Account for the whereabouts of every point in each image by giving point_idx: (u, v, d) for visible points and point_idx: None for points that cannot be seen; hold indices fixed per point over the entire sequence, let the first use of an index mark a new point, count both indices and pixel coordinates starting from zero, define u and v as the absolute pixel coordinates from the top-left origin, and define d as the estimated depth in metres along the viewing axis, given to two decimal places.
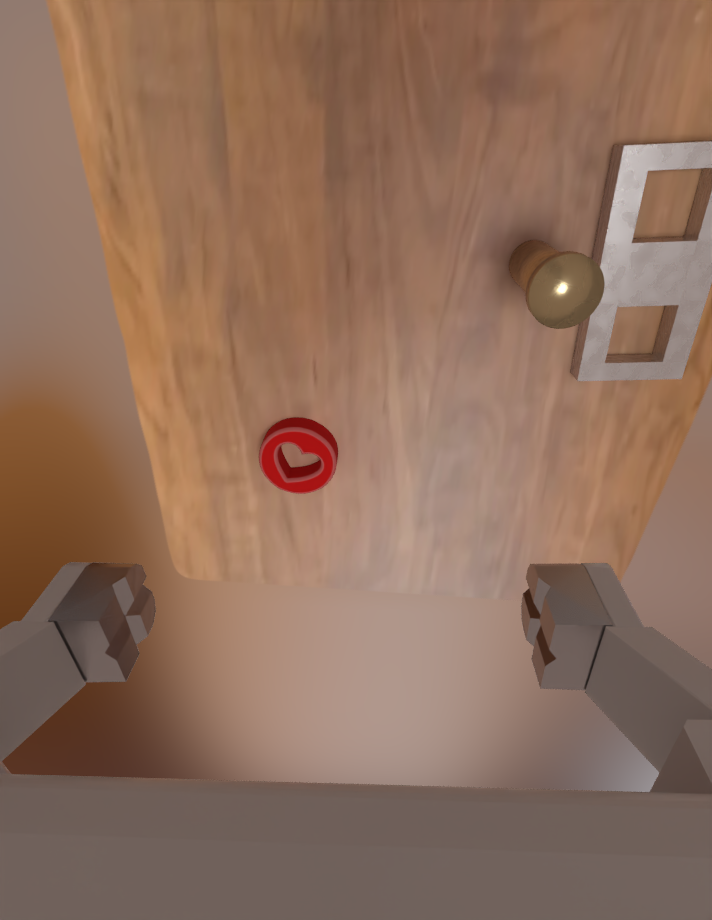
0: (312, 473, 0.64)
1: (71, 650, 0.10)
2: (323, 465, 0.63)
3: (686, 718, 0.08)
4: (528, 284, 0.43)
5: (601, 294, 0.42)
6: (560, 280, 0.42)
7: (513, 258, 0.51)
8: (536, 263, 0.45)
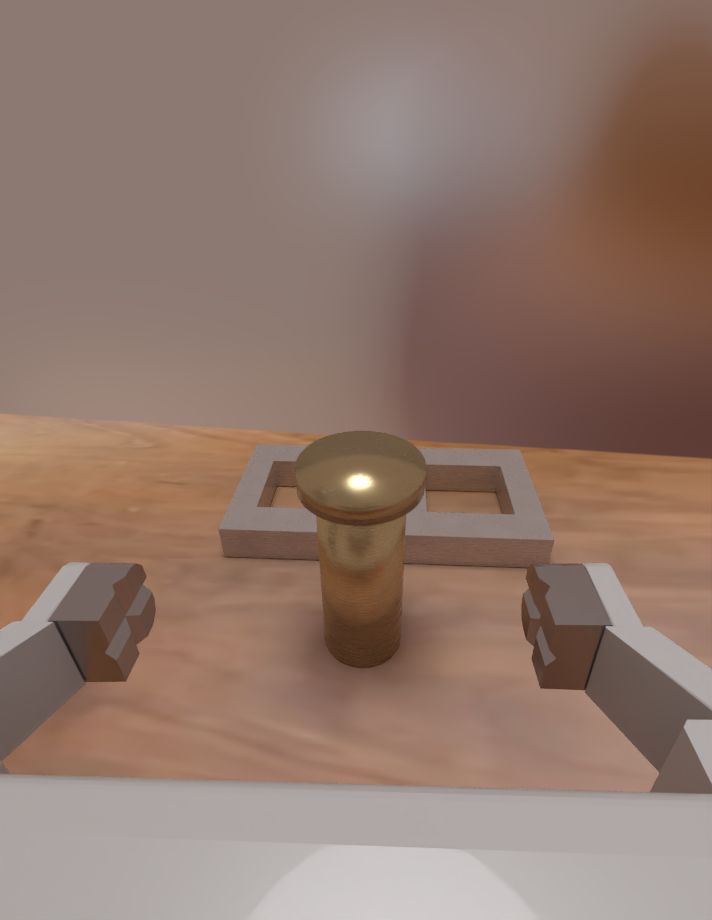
0: None
1: (71, 650, 0.10)
2: None
3: (686, 719, 0.08)
4: (342, 517, 0.22)
5: (368, 432, 0.26)
6: (337, 470, 0.23)
7: (346, 652, 0.28)
8: (327, 553, 0.25)
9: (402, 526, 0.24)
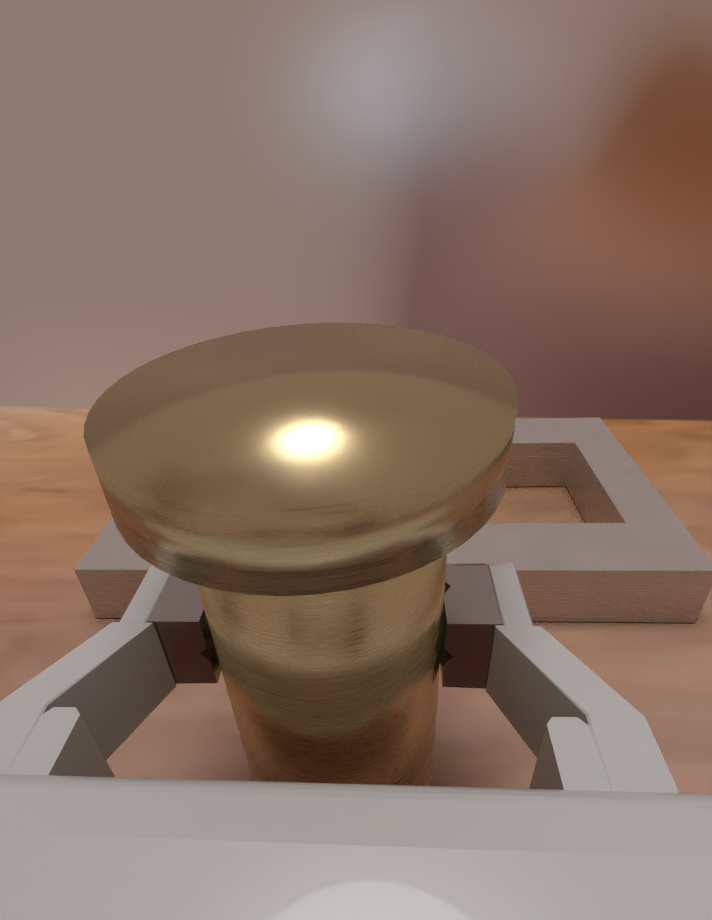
0: None
1: (166, 651, 0.09)
2: None
3: (560, 716, 0.08)
4: (223, 565, 0.06)
5: (336, 323, 0.10)
6: (227, 404, 0.07)
7: None
8: (226, 660, 0.08)
9: (440, 574, 0.08)
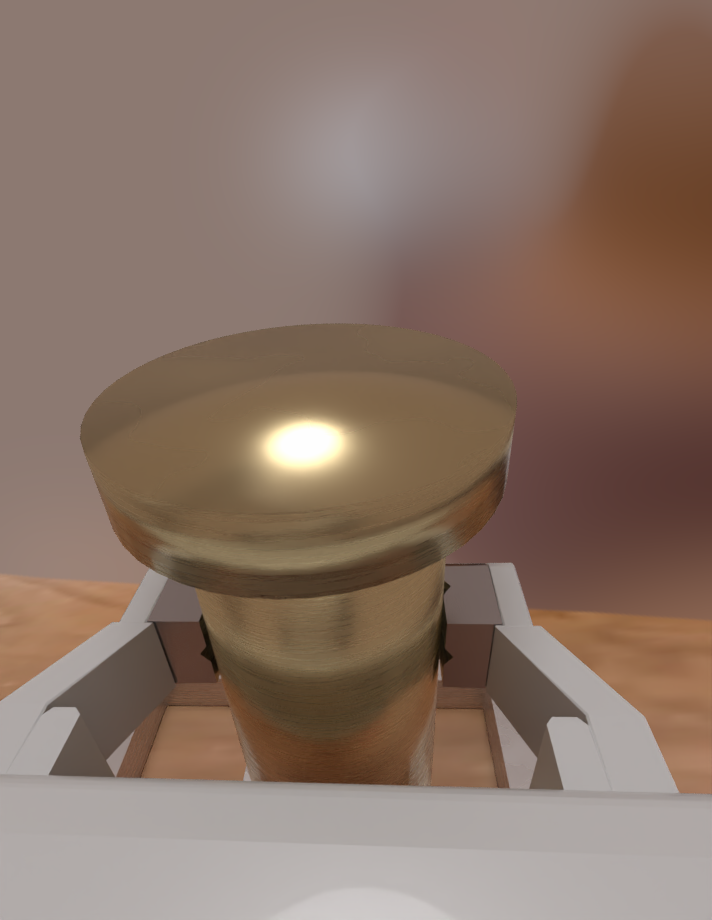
0: None
1: (167, 651, 0.09)
2: None
3: (560, 716, 0.08)
4: (219, 568, 0.05)
5: (334, 324, 0.10)
6: (224, 405, 0.07)
7: None
8: (223, 662, 0.08)
9: (439, 576, 0.08)
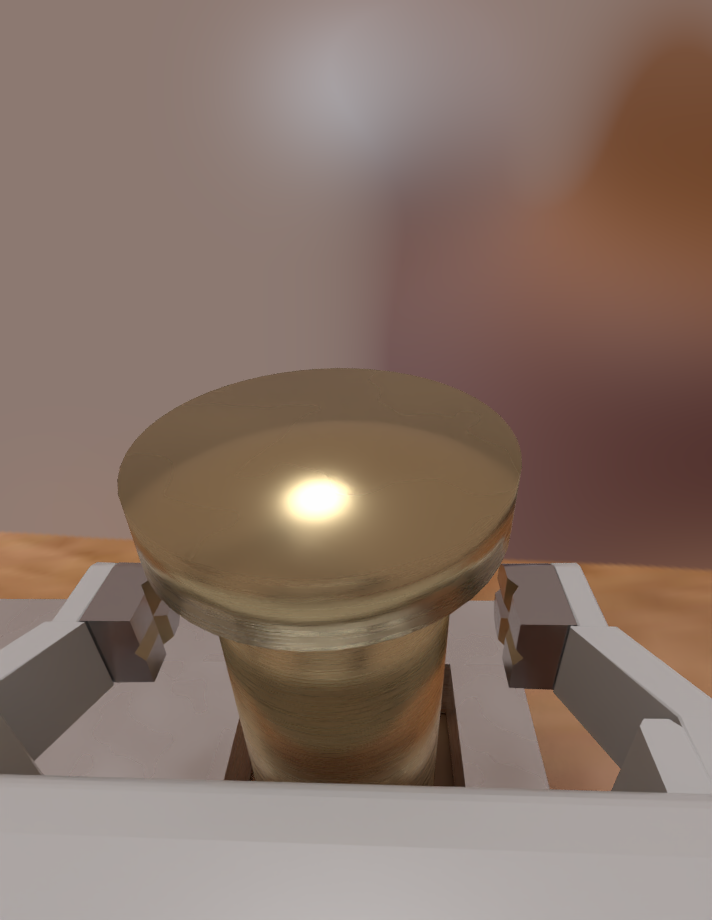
0: None
1: (101, 650, 0.10)
2: None
3: (645, 718, 0.08)
4: (251, 623, 0.06)
5: (347, 369, 0.10)
6: (250, 461, 0.08)
7: None
8: (241, 694, 0.09)
9: (445, 616, 0.09)
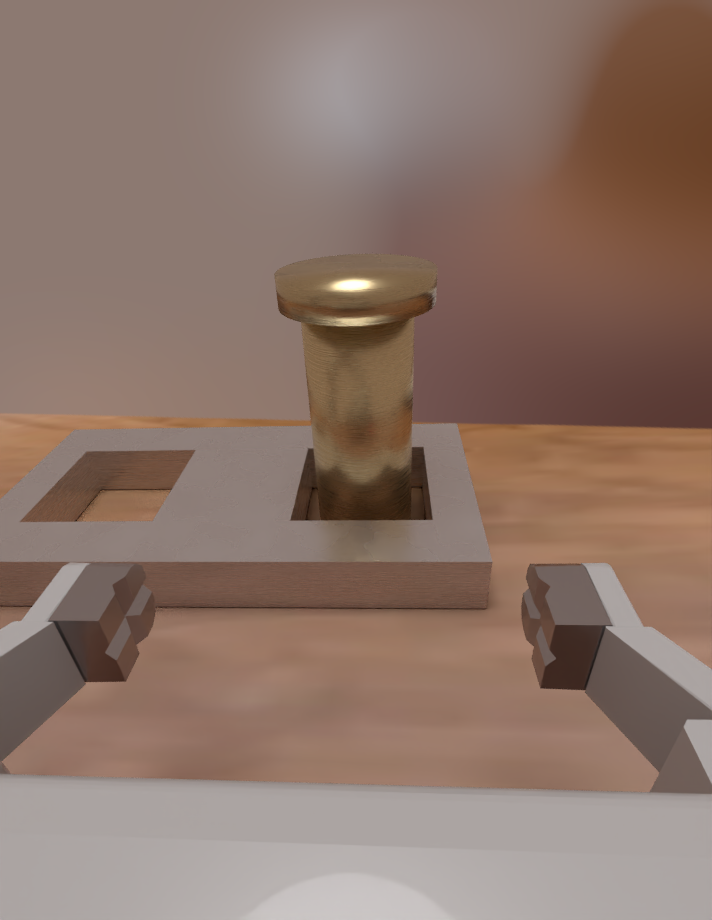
0: None
1: (71, 650, 0.10)
2: None
3: (685, 719, 0.08)
4: (334, 314, 0.17)
5: (364, 254, 0.21)
6: (327, 274, 0.19)
7: None
8: (319, 391, 0.20)
9: (409, 352, 0.20)
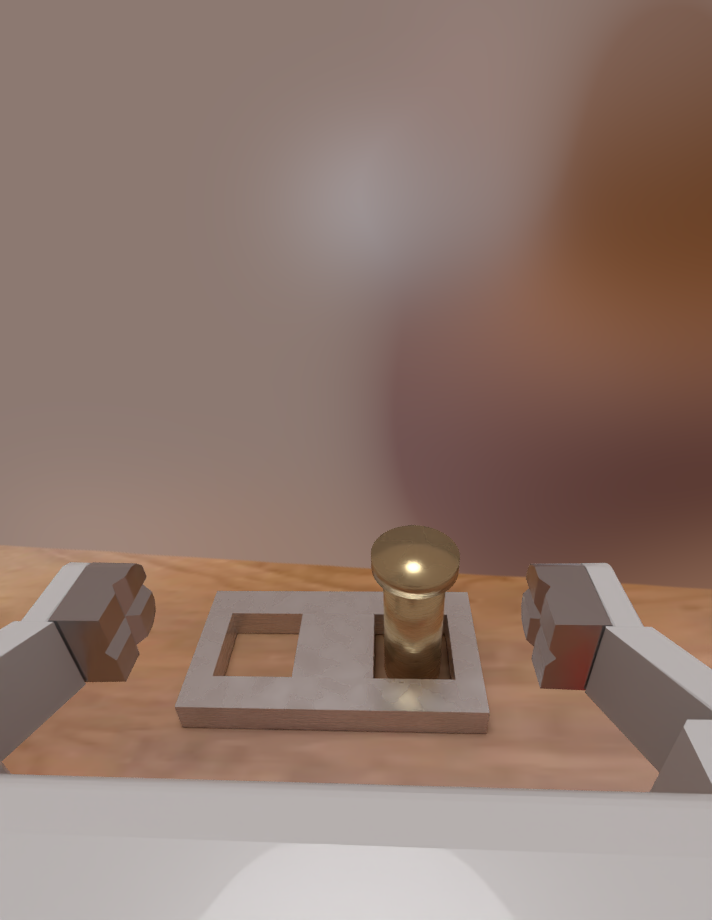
0: None
1: (71, 650, 0.10)
2: None
3: (686, 719, 0.08)
4: (407, 594, 0.33)
5: (416, 526, 0.37)
6: (400, 559, 0.34)
7: None
8: (393, 613, 0.36)
9: (443, 594, 0.36)
